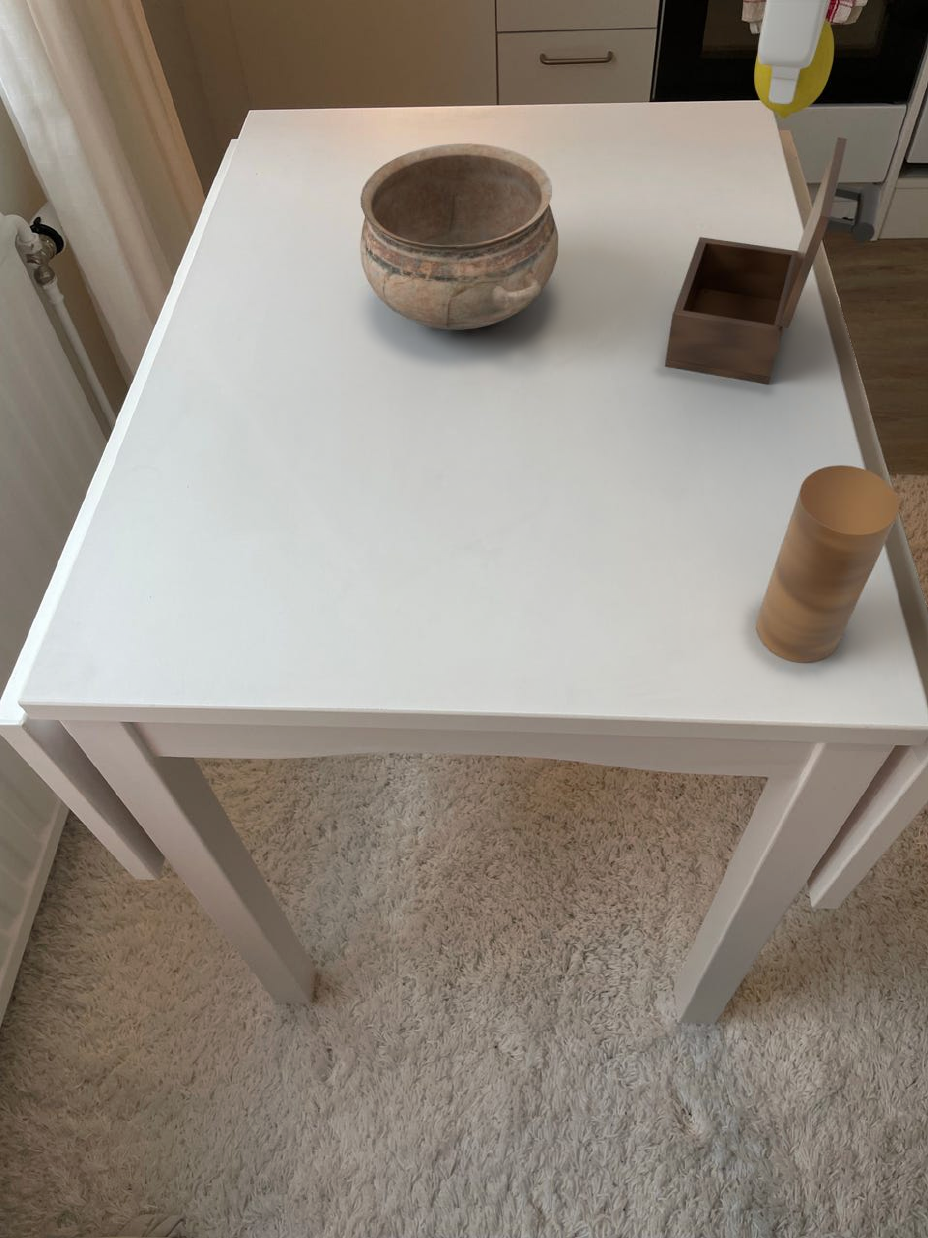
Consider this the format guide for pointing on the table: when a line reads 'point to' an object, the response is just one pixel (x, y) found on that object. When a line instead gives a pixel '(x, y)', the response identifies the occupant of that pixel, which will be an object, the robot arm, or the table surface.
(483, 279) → the cooking pot
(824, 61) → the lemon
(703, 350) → the chest
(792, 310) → the lid
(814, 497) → the stand
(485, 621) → the table surface
